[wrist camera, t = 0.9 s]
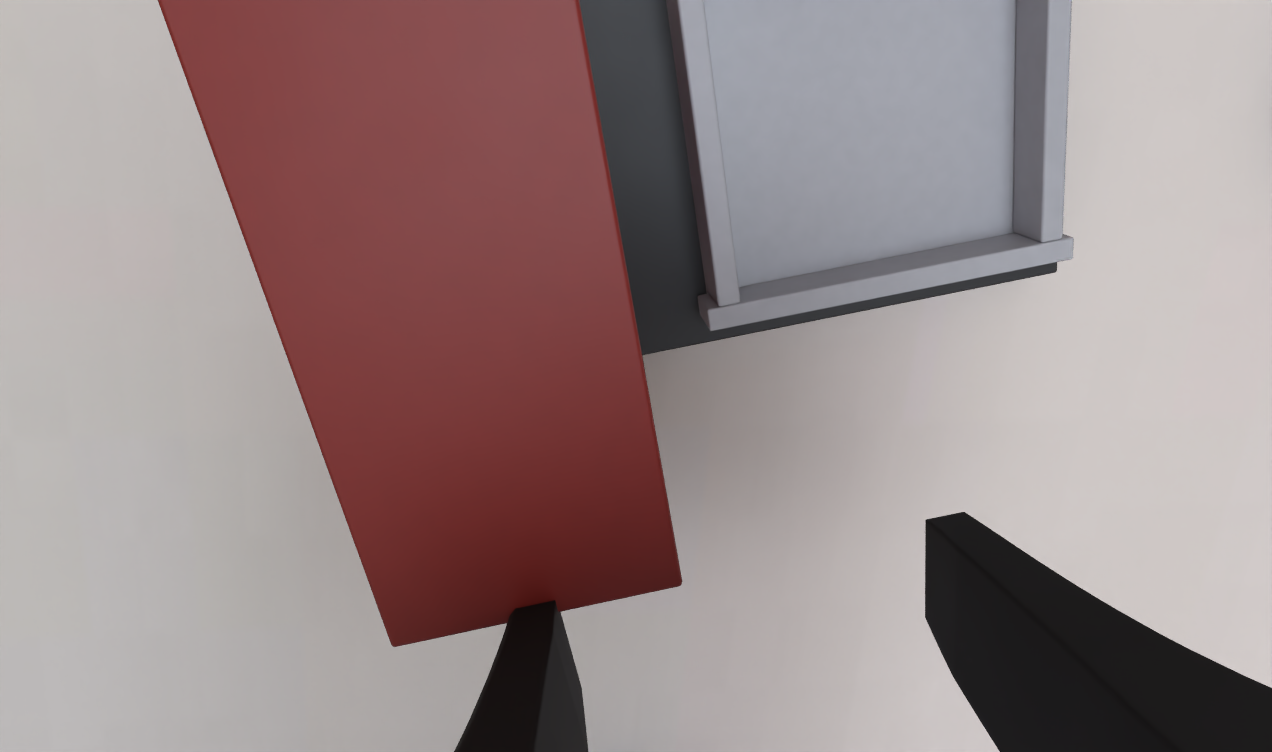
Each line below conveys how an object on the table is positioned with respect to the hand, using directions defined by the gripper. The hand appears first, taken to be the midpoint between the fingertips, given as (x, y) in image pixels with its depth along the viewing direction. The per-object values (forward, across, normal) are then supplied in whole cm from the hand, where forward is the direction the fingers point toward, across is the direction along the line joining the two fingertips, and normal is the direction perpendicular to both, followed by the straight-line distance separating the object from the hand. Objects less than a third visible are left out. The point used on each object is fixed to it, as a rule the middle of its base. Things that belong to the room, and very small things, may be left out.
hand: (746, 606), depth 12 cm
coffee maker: (+12, -3, -5) cm, 14 cm away
